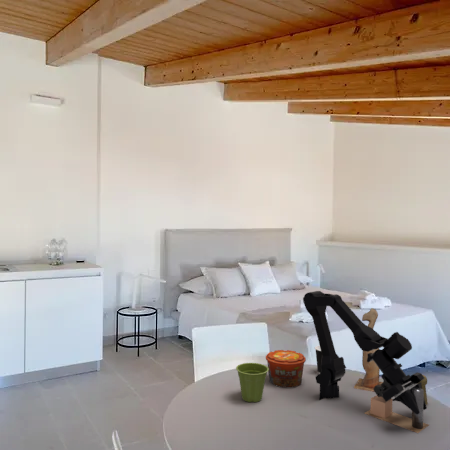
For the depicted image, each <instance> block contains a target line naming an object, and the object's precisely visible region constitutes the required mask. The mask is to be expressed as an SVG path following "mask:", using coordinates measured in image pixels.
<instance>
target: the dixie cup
mask: <svg viewBox="0 0 450 450" xmlns="http://www.w3.org/2000/svg"><path fill="white" fill-rule="evenodd" d="M314 349H315V357H316V367H317V368H316V369H317V372H318V373H317V375H319V374H320V373H321V372H322V370H321V361H322V352H321V348H320V345H316V346H315V347H314Z"/></svg>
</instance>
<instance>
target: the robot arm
mask: <svg viewBox="0 0 450 450" xmlns="http://www.w3.org/2000/svg"><path fill="white" fill-rule="evenodd" d="M341 296H342V295H339V294H332V293H324V292H323V291H321V290H315V291H310V292H309V291H308V292H306V293H305V294H304V295H303V297H302V301H303V305H304V307H305V310H306V311H307V313H309V315H310V316H311V318H312V323H313V325H314V328H315V332H316V336H317V341H318V346H320V348H321V352H322V361H321V370H322V372H321V373H320V374H317V375H316V376H315V382H316V384H319V395H318V396H319V397H318V401H321V400H323V399H325V398H326V399H337V398H340V386H339V384H338V383H339V382H340V381H342V378H343V377H344V376H345V374H346V369H347V367H346V364H345V359H344V357H343V356H339V355H338V354H337V352H336V348H335V345H334V342H333V338H332V334H331V330H330V327H329V323H328V320H327V316H326V315H327V314H326V311H327V307H330V308H331V309H332V311H333V312H334V313H335V314H336V315H337V316H338V317H339V318H340V319H341V321H342V322H343V323H344V324H345V325H346V327H347V328H348V329H349V330H350V331H351V333H352V335H353V339H354V341H355V343H356V344H357V346H358V347H359V348H360V350H361V351H362V352H363V351H367V352H368V351H372V350H374V349H378V348H379V349H378V350H376V351H375V352H374V353H369V354H367V355H368V358H367V362H371V361H374V362H375V363H376V365H377V366H378V368H379V369H380V372H381V373H382V374H381V376H380V377H381V379H382V380H383V381H382V382H383V383H382V384H381V385H376V386H375V387H374V389H373V390H374V391H375V392H374V393H375V395H377V396H378V397H382V398H383V399H384V400H385V402H387V401H389V400H390V399H392V402H395V401H396V402H399V403H402V404H403V405H404V406H405V407H406V408H407V409H409V410H411V412H412V411H413V412H414V413H416V414H419V413H420V411H419V409H418V407H417V404H416V402H415V400H414V398H413V396H412V388H421V389H422V386H421V384H422V383H421V382H420V381H422V380H423V379H425V378H424V377H423V375H424V374H422V373H421V372H415V373H413V374H412V375H410V374H406V373H405V372H404V370H403V369H402V367H403V364H402V363H398V362H397V361H396V360H399V359H401V358H402V357H404V355H406V354H408V353H409V352H410V351H411V350H412V349H413V345H412V343H411V342H410V340H409V339H408V338H406V337H405V335H402V334H400V333H399V332H398V331H396V332H393V333H392V334H391V335H390V336H389V338H386V337H384V336H382V335H380V334H379V333H378V332H377V331H376V330H374V328H373V329H372V328H370V327H369V326H368V324H367V325H366V324H365V323H364V322H363V321H362V319H360V318H359V316H357V315H356V313H354V311H353V310H352V309H351V308H350V307H349V305H348V304H347V303H346V302H345V301H344V300H343V299H342V297H341ZM380 348H382V349H380ZM419 382H420V383H419ZM425 410H427V405H426V403H425V399H424V400H423V411H425Z"/></svg>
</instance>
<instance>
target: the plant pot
mask: <svg viewBox="0 0 450 450" xmlns="http://www.w3.org/2000/svg"><path fill="white" fill-rule="evenodd" d="M235 370H236V371H237V375H238V378H239V386H240V394H241V398H242V400H243V401H245V402H248V403H258V402H260V401H261V400H262V399H263V394H264V388H265V382H266V377H267V375H268V374H267V373H268V370H269V368H268V365H265V364H262V363H258V362H244V363H240V364H238V365H237V366H236V367H235Z"/></svg>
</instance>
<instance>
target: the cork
mask: <svg viewBox="0 0 450 450" xmlns="http://www.w3.org/2000/svg"><path fill="white" fill-rule="evenodd" d="M422 375H423V377H424V378H425V379H423V380H422V381H420V382H421V383H422V384H421V386H422V389H423V390H424V399H425V403H426V406H427V405H428V396H427V386H426V385H427V384H428V378H427V376H425V375H424V374H422ZM420 382H419V383H420Z"/></svg>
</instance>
